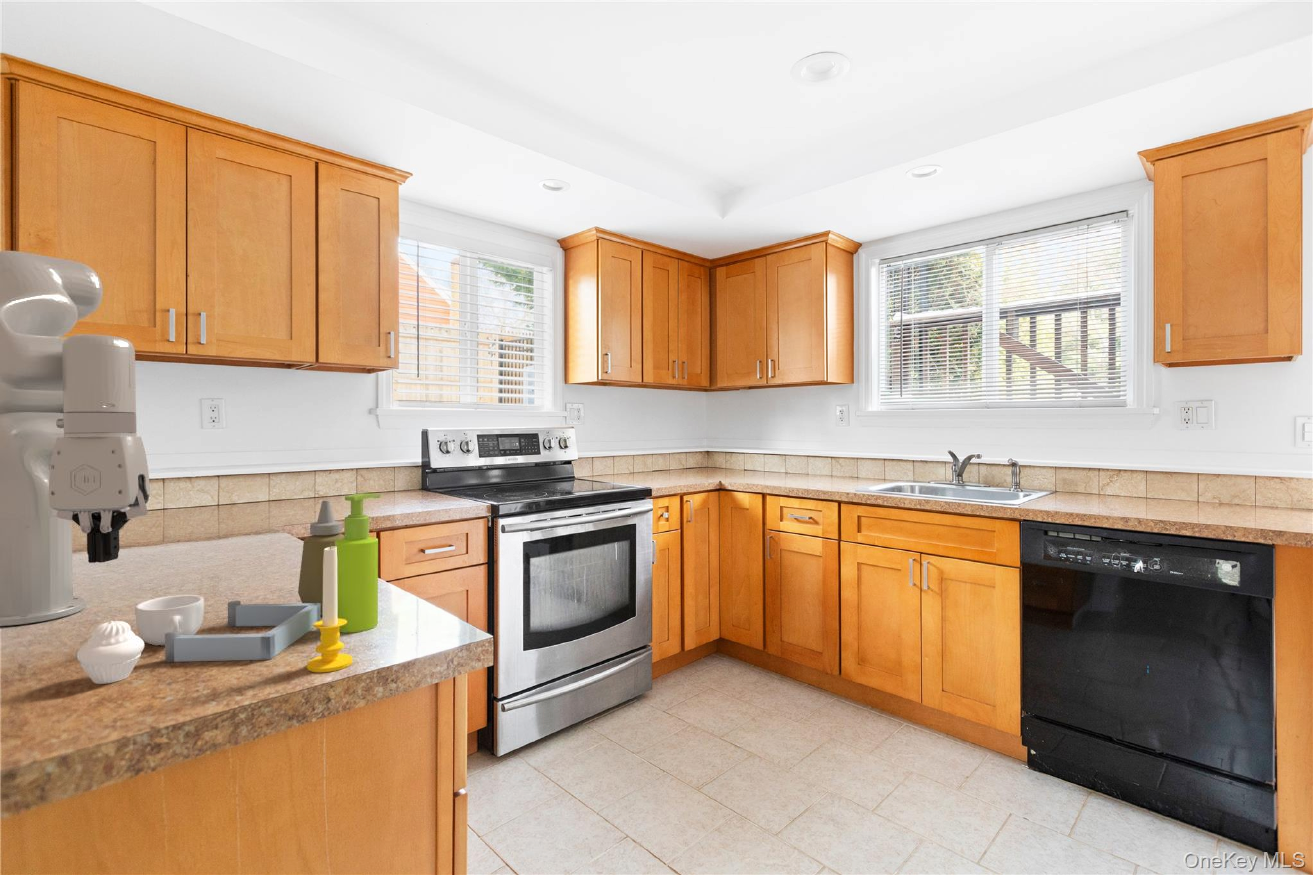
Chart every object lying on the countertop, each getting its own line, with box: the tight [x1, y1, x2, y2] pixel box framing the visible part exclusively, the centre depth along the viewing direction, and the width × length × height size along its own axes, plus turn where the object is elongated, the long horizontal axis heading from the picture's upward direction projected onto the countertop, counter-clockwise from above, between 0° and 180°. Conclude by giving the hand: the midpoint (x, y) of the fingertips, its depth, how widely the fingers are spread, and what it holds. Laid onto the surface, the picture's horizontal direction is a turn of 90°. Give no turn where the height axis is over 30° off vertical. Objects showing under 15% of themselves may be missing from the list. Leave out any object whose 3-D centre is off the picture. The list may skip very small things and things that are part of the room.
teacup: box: [134, 594, 205, 646], centre depth 89 cm, size 10×8×5 cm
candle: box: [306, 543, 354, 674], centre depth 82 cm, size 5×5×16 cm
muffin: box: [76, 620, 145, 685], centre depth 76 cm, size 6×6×7 cm
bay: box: [164, 600, 322, 663], centre depth 90 cm, size 13×16×4 cm
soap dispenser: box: [335, 492, 381, 634], centre depth 97 cm, size 6×7×20 cm
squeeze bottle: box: [297, 499, 344, 616], centre depth 104 cm, size 8×8×18 cm
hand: (103, 560), depth 88 cm, fingers closed
